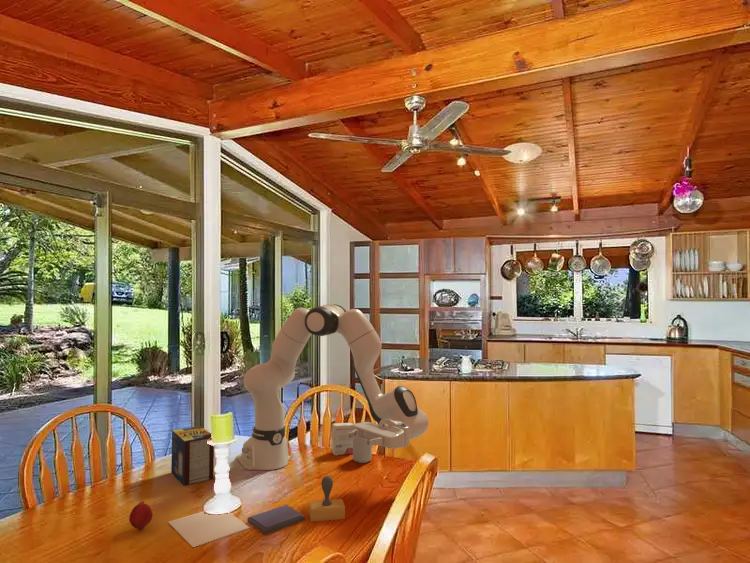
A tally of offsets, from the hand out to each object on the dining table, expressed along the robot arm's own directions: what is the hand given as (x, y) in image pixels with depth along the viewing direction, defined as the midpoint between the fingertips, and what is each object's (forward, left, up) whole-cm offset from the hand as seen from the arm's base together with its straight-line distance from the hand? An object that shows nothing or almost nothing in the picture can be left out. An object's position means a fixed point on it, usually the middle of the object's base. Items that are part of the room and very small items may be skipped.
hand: (358, 439), depth 154 cm
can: (-29, +27, -21) cm, 45 cm away
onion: (-27, -56, -21) cm, 66 cm away
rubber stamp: (0, -12, -21) cm, 24 cm away
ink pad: (-7, -25, -20) cm, 33 cm away
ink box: (-41, +27, -21) cm, 53 cm away
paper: (-17, -41, -20) cm, 49 cm away
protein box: (-56, -30, -21) cm, 67 cm away
